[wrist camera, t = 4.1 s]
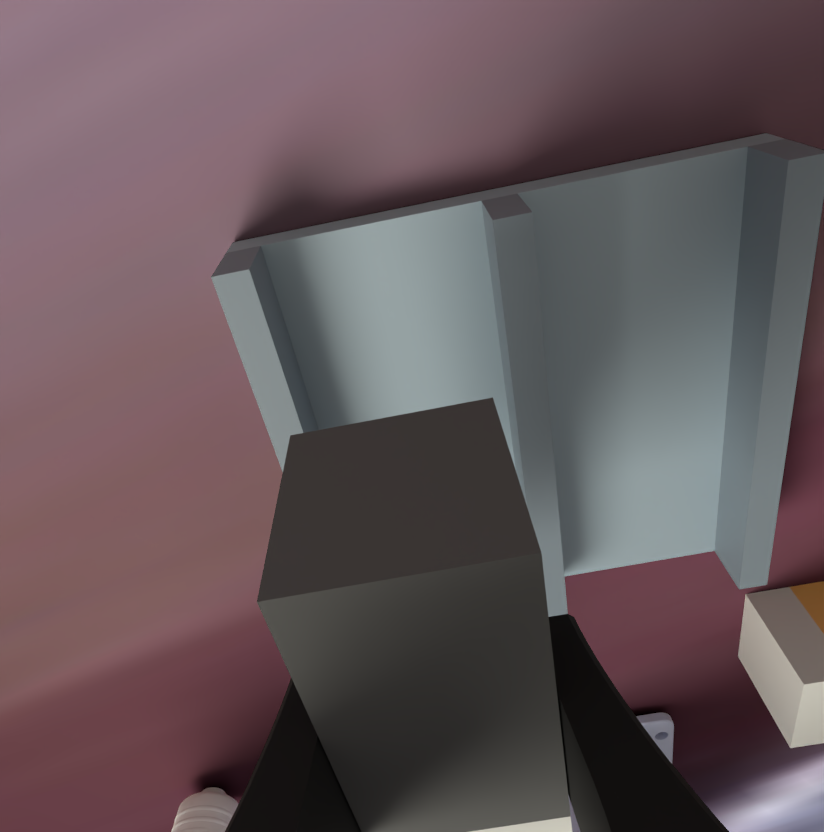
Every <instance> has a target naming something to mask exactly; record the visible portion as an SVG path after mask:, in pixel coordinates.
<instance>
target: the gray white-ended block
mask: <svg viewBox="0 0 824 832" xmlns="http://www.w3.org/2000/svg"><path fill="white" fill-rule="evenodd" d="M257 603H258V605H259V607H260V610H261V612H262V614H263V616H264V618H265V621H266V623H267V625H268V627H269V629H270V632H271V634H272V636H273V638H274V640H275V643H276V645H277V647H278V649H279V651H280V654H281V656H282V658H283V660H284V662H285V665H286V667H287V669H288V671H289V673H290V676H291V678H292V680H293V682H294V684H295V687H296V689H297V691H298V693H299V695H300V698H301V700H302V702H303V704H304V707H305V709H306V711H307V713H308V715H309V718H310V720H311V722H312V724H313V726H314V729H315V731H316V733H317V735H318V737H319V740H320V742H321V744H322V746H323V748H324V751H325V753H326V755H327V757H328V759H329V762H330V764H331V766H332V768H333V770H334V773H335V775H336V777H337V779H338V781H339V784H340V786H341V788H342V790H343V792H344V795H345V797H346V799H347V801H348V803H349V806H350V808H351V810H352V812H353V814H354V817H355V819H356V821H357V823H358V825H359V828H360V830H361V832H572V823H571V814H570V805H569V796H568V787H567V778H566V769H565V760H564V751H563V742H562V733H561V724H560V715H559V706H558V697H557V688H556V679H555V670H554V661H553V652H552V643H551V634H550V625H549V616H548V607H547V598H546V589H545V580H544V571H543V562H542V553H541V550H540V546H539V543H538V540H537V537H536V534H535V530H534V527H533V524H532V521H531V518H530V515H529V511H528V508H527V505H526V502H525V499H524V495H523V492H522V489H521V486H520V483H519V479H518V476H517V473H516V470H515V467H514V463H513V460H512V457H511V454H510V451H509V448H508V444H507V441H506V438H505V435H504V432H503V428H502V425H501V422H500V419H499V416H498V412H497V409H496V406H495V403H494V400H493V398H487V399H482V400H477V401H471V402H466V403H461V404H455V405H450V406H445V407H439V408H434V409H429V410H423V411H418V412H413V413H407V414H402V415H397V416H391V417H386V418H381V419H375V420H370V421H365V422H359V423H354V424H349V425H343V426H338V427H332V428H327V429H322V430H316V431H311V432H306V433H300V434H295V435H290V439H289V444H288V449H287V454H286V459H285V464H284V469H283V474H282V479H281V484H280V489H279V494H278V499H277V504H276V509H275V514H274V519H273V524H272V529H271V534H270V539H269V544H268V549H267V554H266V559H265V564H264V570H263V575H262V580H261V585H260V590H259V595H258V600H257Z"/></svg>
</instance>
